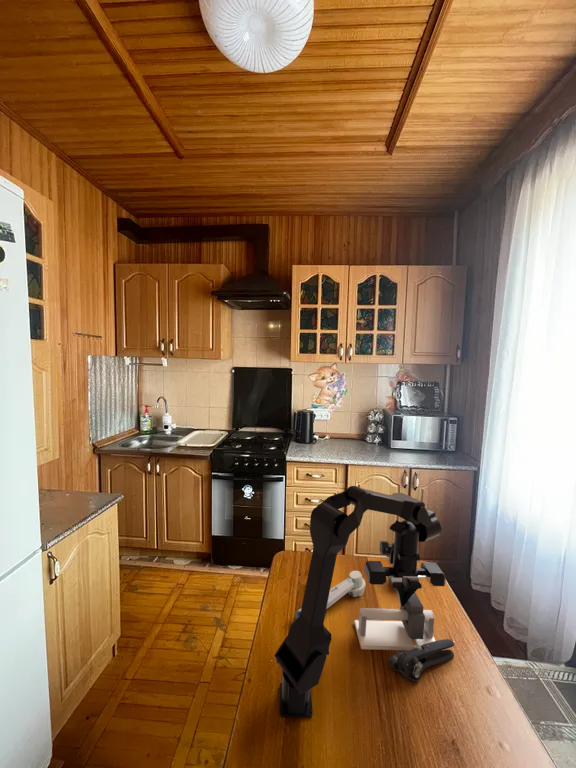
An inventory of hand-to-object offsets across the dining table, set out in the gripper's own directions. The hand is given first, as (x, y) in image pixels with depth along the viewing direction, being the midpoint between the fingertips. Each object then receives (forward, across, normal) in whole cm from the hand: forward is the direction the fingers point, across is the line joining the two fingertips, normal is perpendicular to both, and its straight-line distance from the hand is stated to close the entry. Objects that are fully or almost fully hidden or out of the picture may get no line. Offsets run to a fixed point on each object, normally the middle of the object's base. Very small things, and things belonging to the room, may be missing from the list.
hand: (401, 604), depth 87 cm
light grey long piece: (+9, +16, -11) cm, 21 cm away
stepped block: (+6, -3, 0) cm, 7 cm away
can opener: (+9, -3, +8) cm, 12 cm away
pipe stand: (+9, +1, 0) cm, 9 cm away
